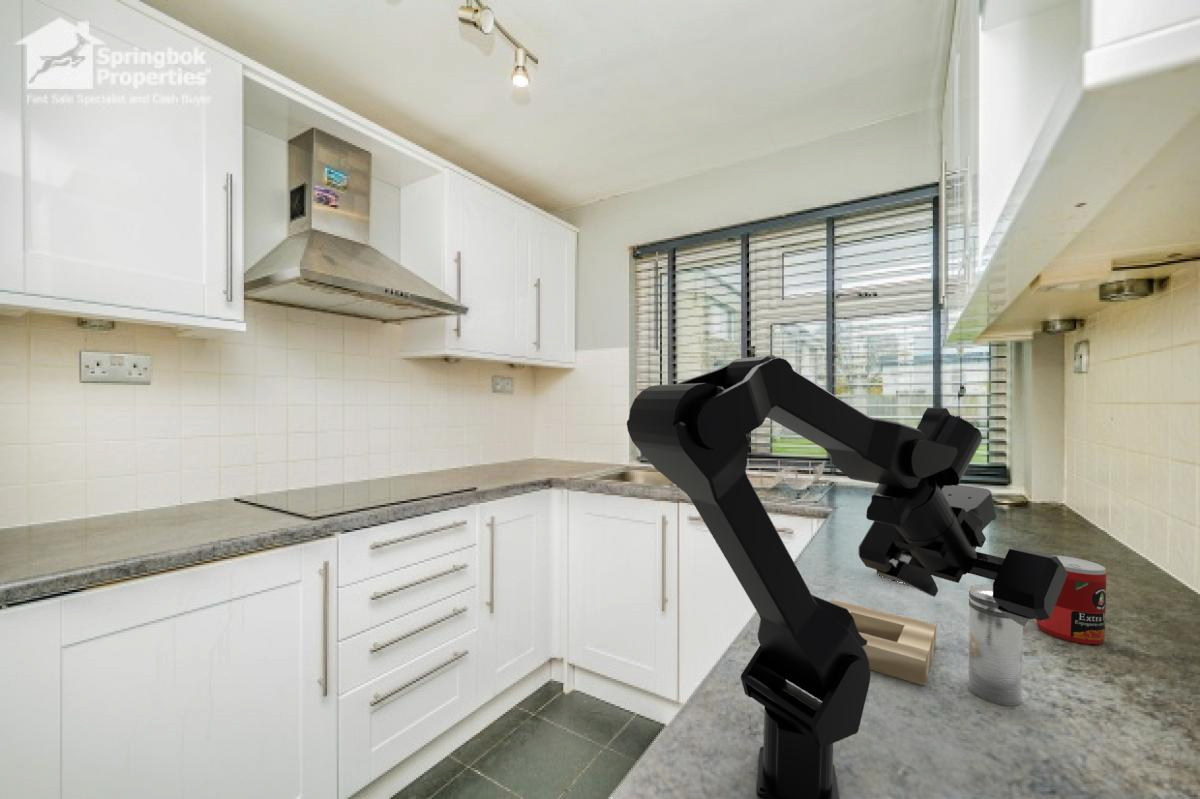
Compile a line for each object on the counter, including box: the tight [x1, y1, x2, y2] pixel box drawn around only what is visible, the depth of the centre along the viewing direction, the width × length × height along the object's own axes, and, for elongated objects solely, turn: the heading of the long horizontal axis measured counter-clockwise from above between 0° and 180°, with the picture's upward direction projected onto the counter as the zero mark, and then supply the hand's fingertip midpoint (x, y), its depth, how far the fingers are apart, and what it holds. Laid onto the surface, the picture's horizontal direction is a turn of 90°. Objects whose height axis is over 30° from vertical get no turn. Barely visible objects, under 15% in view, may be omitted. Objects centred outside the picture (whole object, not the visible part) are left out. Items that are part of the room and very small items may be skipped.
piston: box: [967, 584, 1024, 707], centre depth 61 cm, size 5×5×12 cm
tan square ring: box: [829, 599, 938, 687], centre depth 72 cm, size 14×14×3 cm
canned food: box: [1035, 554, 1107, 646], centre depth 79 cm, size 8×8×11 cm
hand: (977, 606), depth 59 cm, fingers open, 9 cm apart
